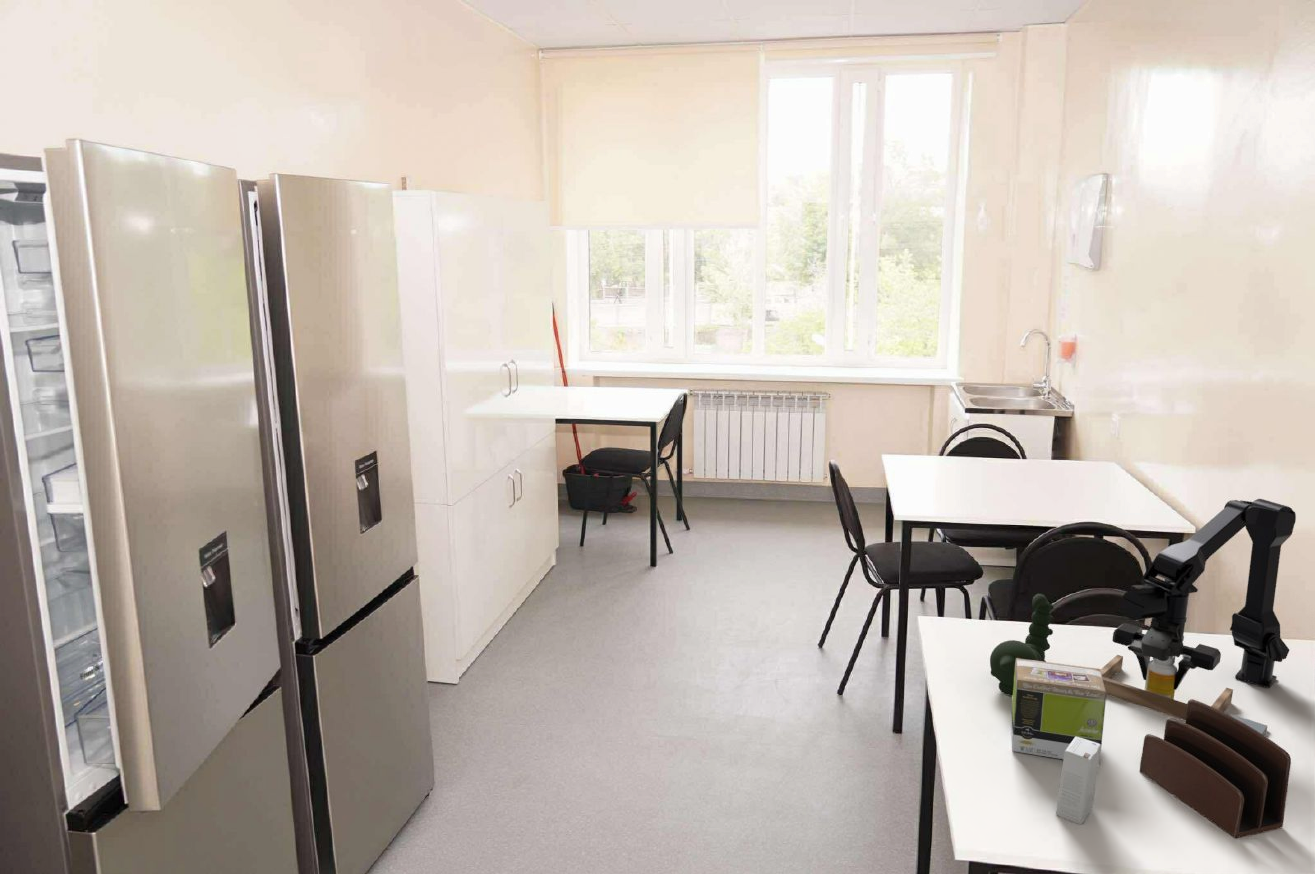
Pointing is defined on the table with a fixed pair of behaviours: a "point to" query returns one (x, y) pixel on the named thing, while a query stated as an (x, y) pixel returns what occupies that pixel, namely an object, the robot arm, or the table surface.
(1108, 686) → the walnut stall
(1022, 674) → the tea box
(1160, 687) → the supplement bottle
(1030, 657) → the toy figurine
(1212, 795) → the letter holder
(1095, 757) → the skincare box
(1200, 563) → the robot arm
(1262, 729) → the slate mat
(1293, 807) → the table surface
